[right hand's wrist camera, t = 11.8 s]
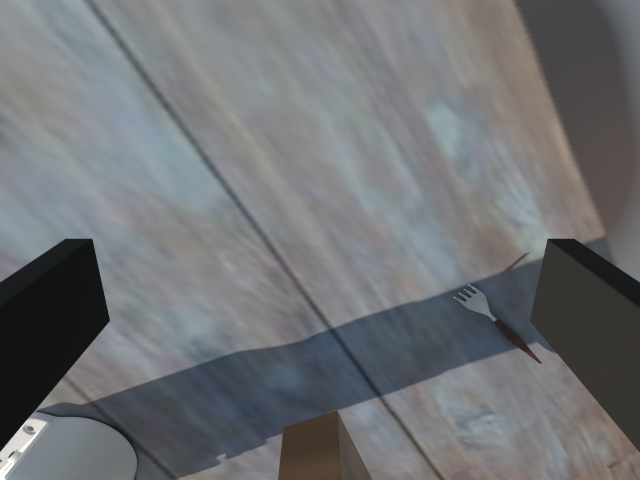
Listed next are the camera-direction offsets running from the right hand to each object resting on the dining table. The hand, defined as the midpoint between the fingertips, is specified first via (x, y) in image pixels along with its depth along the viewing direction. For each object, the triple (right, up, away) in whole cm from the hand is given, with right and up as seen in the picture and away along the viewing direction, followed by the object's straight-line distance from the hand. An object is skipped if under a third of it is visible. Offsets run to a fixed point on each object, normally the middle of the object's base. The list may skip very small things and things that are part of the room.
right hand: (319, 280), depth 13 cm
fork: (+22, -9, +39) cm, 45 cm away
